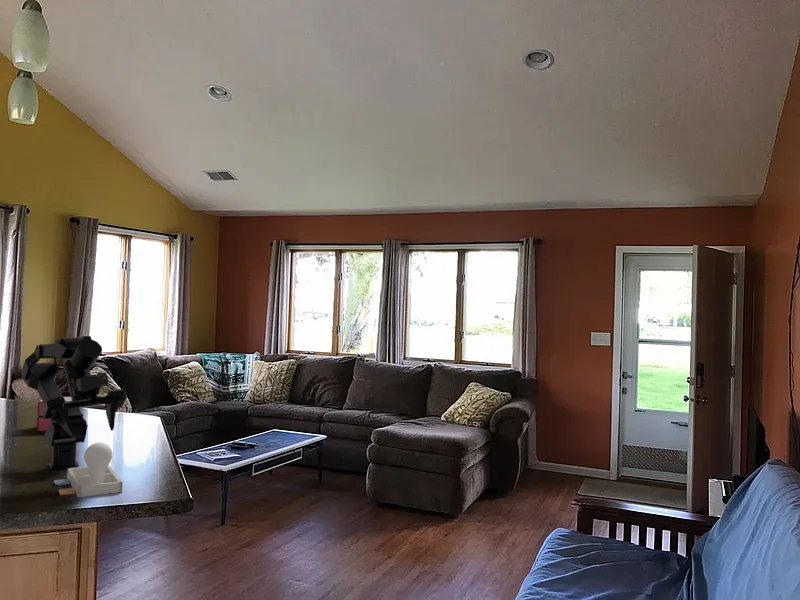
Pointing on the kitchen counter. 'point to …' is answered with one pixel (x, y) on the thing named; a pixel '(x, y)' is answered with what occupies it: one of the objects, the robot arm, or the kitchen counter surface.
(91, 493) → the socket board
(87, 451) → the lightbulb
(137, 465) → the kitchen counter surface
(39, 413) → the puzzle cube
